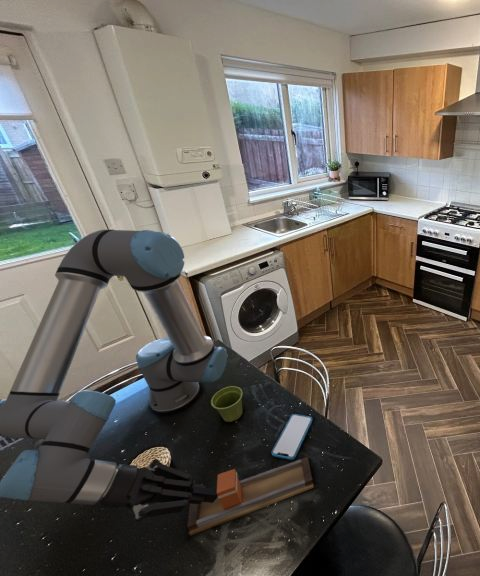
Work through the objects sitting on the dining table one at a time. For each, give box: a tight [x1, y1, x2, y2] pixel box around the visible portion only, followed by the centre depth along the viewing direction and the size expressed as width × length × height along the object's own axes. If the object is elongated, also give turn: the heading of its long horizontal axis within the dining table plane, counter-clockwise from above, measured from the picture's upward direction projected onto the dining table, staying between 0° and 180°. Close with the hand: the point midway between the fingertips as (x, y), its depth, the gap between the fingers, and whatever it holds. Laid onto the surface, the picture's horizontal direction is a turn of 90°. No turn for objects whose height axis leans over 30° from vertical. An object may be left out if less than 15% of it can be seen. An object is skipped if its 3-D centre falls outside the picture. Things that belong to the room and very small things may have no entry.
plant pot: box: [210, 385, 244, 423], centre depth 104 cm, size 9×9×9 cm
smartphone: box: [271, 413, 313, 461], centre depth 99 cm, size 8×1×15 cm
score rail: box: [186, 456, 315, 537], centre depth 83 cm, size 8×30×3 cm, turn 112°
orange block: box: [216, 468, 242, 510], centre depth 79 cm, size 5×4×9 cm
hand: (216, 496), depth 78 cm, fingers closed
